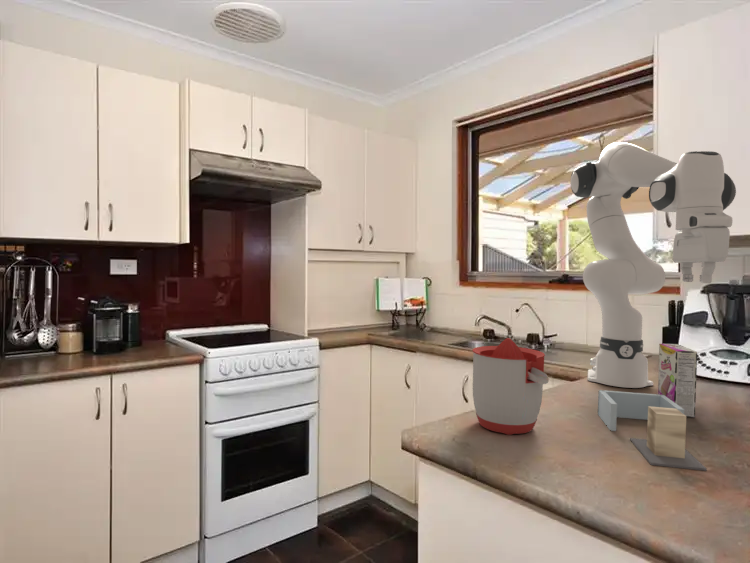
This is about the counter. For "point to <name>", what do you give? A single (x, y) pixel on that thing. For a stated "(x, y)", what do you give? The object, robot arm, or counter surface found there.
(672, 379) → the candy bar box
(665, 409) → the birch block
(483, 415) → the citrus juicer
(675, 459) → the charcoal mat
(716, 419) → the counter surface
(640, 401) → the open-side box
